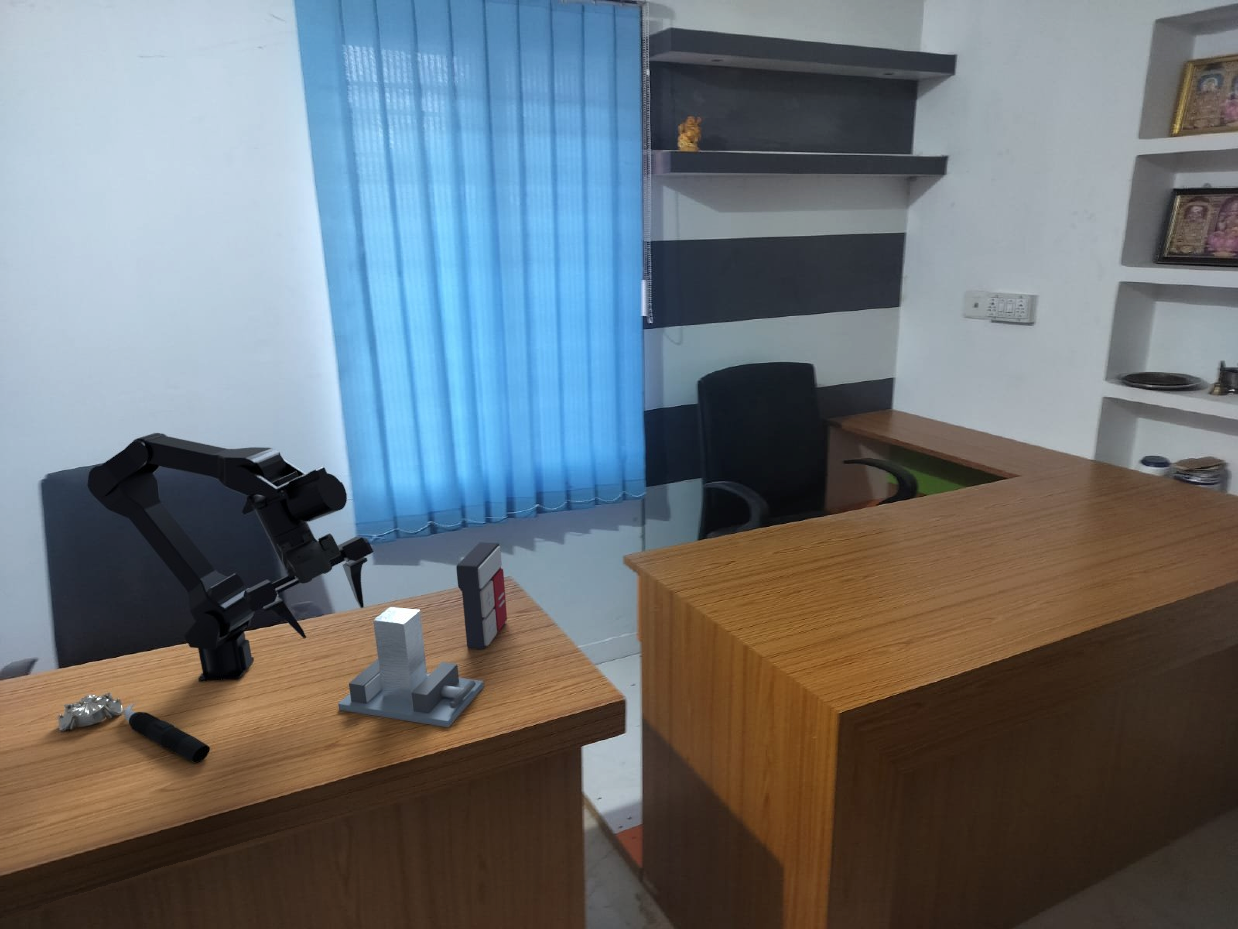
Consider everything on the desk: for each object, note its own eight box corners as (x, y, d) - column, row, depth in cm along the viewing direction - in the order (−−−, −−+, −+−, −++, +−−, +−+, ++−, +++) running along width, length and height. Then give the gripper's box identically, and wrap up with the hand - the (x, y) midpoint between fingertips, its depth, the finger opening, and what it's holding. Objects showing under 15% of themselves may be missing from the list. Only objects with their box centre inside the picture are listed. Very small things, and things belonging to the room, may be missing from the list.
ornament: (122, 701, 126) (117, 679, 125) (124, 721, 121) (119, 699, 120) (60, 718, 122) (54, 696, 121) (59, 740, 116) (54, 718, 115)
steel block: (412, 701, 121) (403, 623, 117) (382, 697, 122) (373, 620, 119) (428, 685, 125) (420, 610, 121) (399, 681, 126) (390, 606, 123)
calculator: (488, 651, 137) (480, 566, 133) (463, 649, 138) (455, 565, 134) (509, 621, 147) (503, 542, 143) (486, 619, 148) (480, 541, 144)
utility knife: (111, 723, 120) (106, 705, 119) (138, 710, 123) (134, 692, 122) (194, 770, 109) (190, 750, 108) (222, 754, 112) (219, 735, 111)
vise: (338, 709, 121) (335, 685, 120) (381, 672, 131) (378, 649, 130) (449, 727, 116) (446, 702, 115) (484, 687, 126) (482, 663, 125)
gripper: (229, 562, 111) (280, 663, 114) (358, 502, 120) (403, 597, 123) (223, 558, 121) (271, 651, 124) (343, 503, 130) (385, 591, 132)
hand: (334, 622), depth 125 cm, fingers open, 9 cm apart
